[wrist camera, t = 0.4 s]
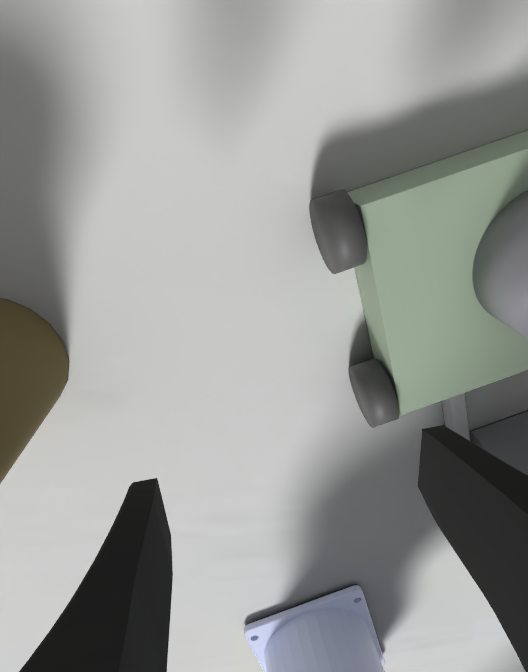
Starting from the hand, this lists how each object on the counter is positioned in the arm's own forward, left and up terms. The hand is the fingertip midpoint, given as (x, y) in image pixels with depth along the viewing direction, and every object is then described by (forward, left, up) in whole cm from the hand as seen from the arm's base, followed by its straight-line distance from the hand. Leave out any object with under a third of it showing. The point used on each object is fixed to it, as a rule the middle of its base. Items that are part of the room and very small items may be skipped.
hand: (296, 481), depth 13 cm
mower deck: (-5, -12, -10) cm, 17 cm away
